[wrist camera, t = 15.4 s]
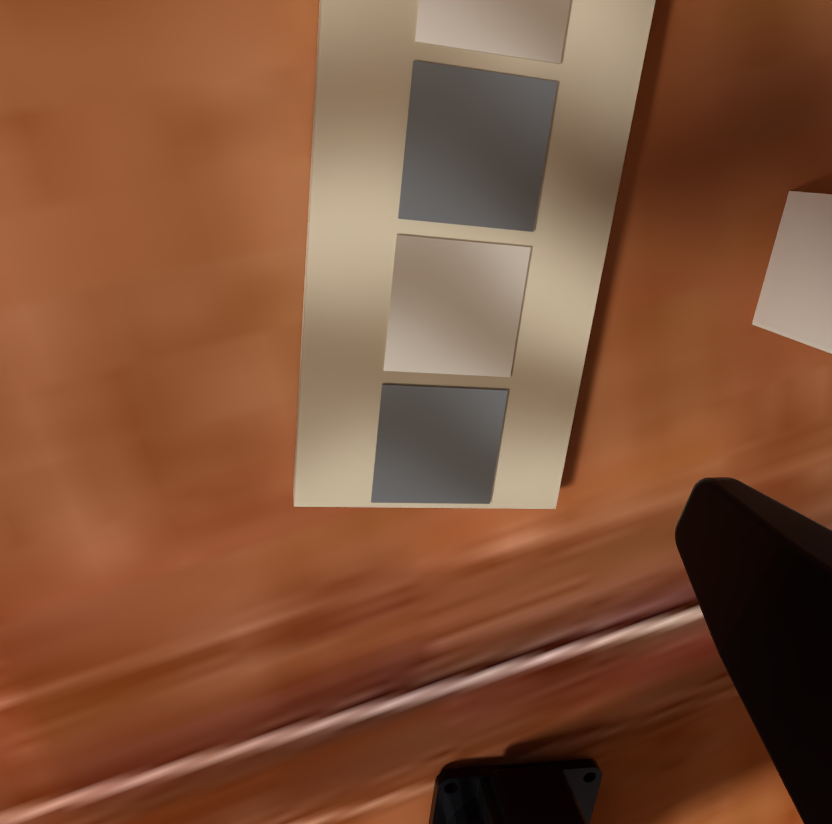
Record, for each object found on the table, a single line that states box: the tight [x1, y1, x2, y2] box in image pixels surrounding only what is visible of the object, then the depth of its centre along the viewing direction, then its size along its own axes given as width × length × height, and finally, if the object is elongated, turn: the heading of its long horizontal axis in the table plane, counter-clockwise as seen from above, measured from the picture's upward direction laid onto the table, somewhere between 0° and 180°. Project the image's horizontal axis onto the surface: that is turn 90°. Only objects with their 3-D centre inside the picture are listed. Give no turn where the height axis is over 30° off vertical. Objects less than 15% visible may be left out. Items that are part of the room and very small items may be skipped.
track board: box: [293, 0, 656, 509], centre depth 18 cm, size 20×8×1 cm, turn 174°
